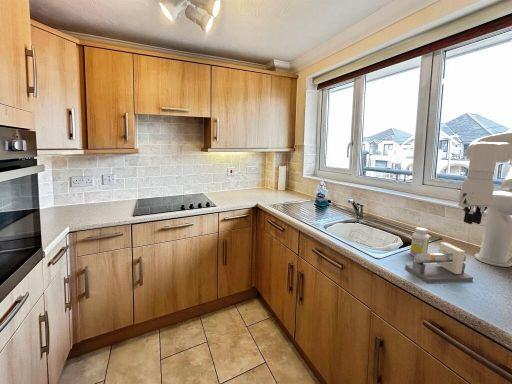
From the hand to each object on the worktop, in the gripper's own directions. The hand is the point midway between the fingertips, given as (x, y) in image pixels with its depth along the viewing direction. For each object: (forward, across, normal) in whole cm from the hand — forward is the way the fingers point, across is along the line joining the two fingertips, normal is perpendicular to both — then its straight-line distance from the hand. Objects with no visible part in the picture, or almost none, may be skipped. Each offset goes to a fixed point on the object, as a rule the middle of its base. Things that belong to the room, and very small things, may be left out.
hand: (471, 222), depth 103 cm
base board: (+21, +11, 0) cm, 24 cm away
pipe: (+20, +11, 0) cm, 23 cm away
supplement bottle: (+21, +6, -18) cm, 29 cm away
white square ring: (+19, +7, 0) cm, 20 cm away
